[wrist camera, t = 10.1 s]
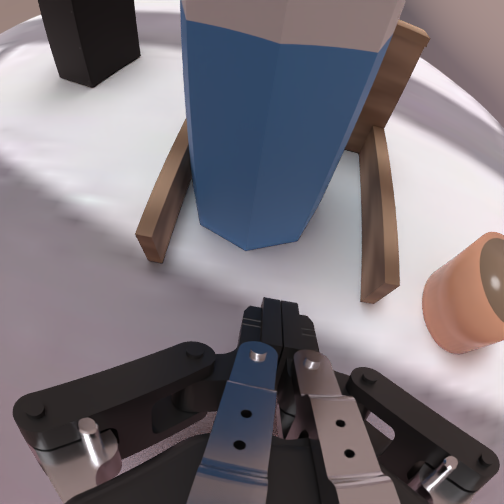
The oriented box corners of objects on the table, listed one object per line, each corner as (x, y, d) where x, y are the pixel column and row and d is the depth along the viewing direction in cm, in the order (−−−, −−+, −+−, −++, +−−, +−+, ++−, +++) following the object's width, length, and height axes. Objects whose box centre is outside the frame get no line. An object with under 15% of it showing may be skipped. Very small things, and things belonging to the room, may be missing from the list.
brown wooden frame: (373, 303, 19) (512, 192, 8) (148, 260, 19) (78, 95, 8) (368, 146, 26) (423, 30, 14) (206, 112, 26) (207, -20, 14)
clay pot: (459, 372, 17) (519, 357, 12) (406, 307, 19) (459, 274, 14) (493, 310, 20) (543, 284, 14) (447, 251, 22) (492, 213, 16)
